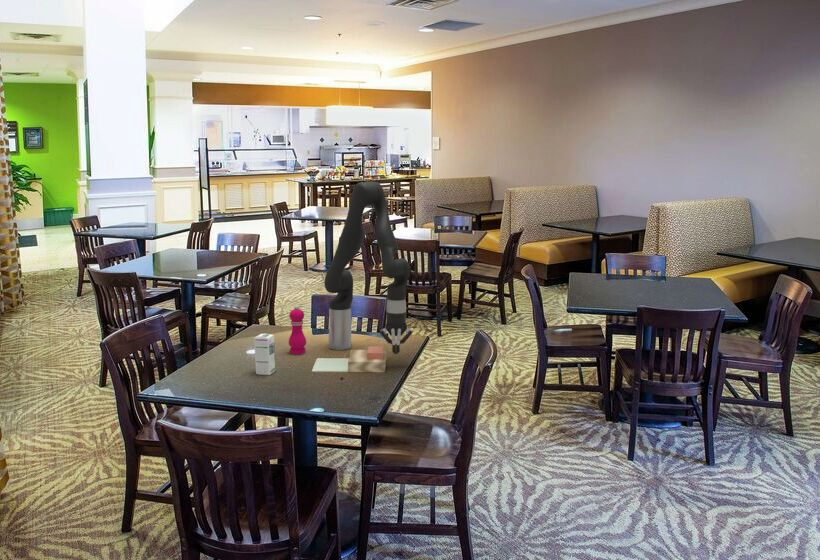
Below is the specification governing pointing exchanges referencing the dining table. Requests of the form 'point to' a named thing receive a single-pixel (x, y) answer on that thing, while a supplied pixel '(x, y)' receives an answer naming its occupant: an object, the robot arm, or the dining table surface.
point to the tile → (375, 352)
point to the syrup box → (265, 354)
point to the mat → (331, 365)
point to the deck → (365, 362)
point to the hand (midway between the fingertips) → (396, 353)
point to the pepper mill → (297, 332)
